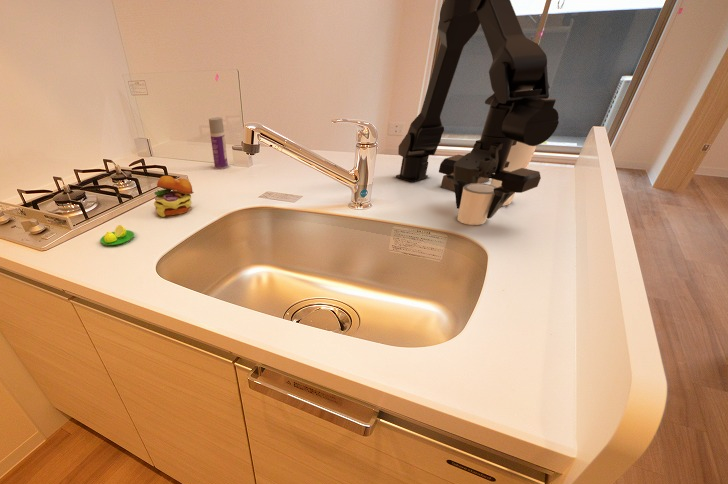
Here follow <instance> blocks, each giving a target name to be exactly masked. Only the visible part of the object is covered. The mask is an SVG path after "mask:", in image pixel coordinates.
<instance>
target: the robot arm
mask: <svg viewBox="0 0 728 484" xmlns="http://www.w3.org/2000/svg"><path fill="white" fill-rule="evenodd" d="M439 11H440V12H439V20H438V25H437V31H438V36H439V40H440V41H439V42H440V44H439V47H438V48H439V49H438V52H437V56H436V59H435V62H434V66H433V69H432V73H431V76H430V80H429V83H428V86H427V90H426V93H425V96H424V99H423V103H422V106H421V110H420V113H418V115H417V116H416V117H415V118H414V120H413V121H411V123H410V125H409V128H408V130H407V133H406V134H405V136H404V137H403V139H402V140H401V142H400V143H399V145H398V153H397V154H398V156H401V157H402V159H401V165H400V171H399V174H396V175H395V179H396V178H397V179H400V180H403V181H407V182H410V183H414V182H418V181H421V180H424V179H427V178H429V175H427V173H428V172H427V171H428V166H429V157H430V156H435V154H436V152H437V149H438V147H439V145H440V143H441V140H442V137H443V134H444V132H445V127H444V126H443V124H442V119H441V115H442V112H443V109H444V106H445V103H446V101H447V98H448V96H449V95H448V94H449V92H450V88H451V85H452V82H453V79H454V77H455V73H456V71H457V69H458V65H459V62H460V58H461V56H462V53H463V51H464V47H465V46H466V45H467V44H468V42H469V41H470V40H471V39H472V37H473V36H474V35H475V34H476V33H477V32H478V30H479V27H480V26H481V30H482V32H483V35H484V38H485V40H486V43H487V46H488V48H489V51H490V53H491V59H492V62H491V65H490V67H489V70H488V75H489V82H490V86H491V90H492V92H493V94H491V95H490V96H488V97H487V98H486V99H485V101H484V104H485V105H488V106H489V109H488V112H487V116H486V119H485V123H484V126H483V129H482V133H481V136H480V139H478V140H477V139H476V140H475V142H474V144H473V147H472V149H471V151H470V152H468V153H466V154H464V155H462V154H456V155H453V156H449V157H445V158H444V159H443V160H442V161H441V162H440V165H439V167H438V173H439V174H443V175H447V176H446V177H447V178H448V179H450V180H451V181H452V183H453V184H454V189H455V191H454V194H455V195H454V196H455V206H456V209H457V210H459V208H460V203H461V197H462V192H463V187H464V186H465V185H468V184H472V183H475V182H476V181H478V179H479V178H480V177H482V178H489V179H491V180H492V179H495V180H499V181H502V184H501V186H500V187H498V188H495V189H494V194H495V196H494V198H493V201H492V203H491V206H490V209H489V211H488V215H487V219H492V218H493V217H494V215H495V214H496V213H497V212H498V211H499V210H500V208H501V207H503V206H502V205H503V204H504V203H505V202H506V200H507V199H508V198H509V197H510V196H511V195H513V194H514V193H515V194H516V193H517V194H522V193H524V192H528V191H531V190H533V189H535V188H538V186H539V184H540V181H541V178H542V176H541V172H540V171H539V170H533V169H529V168H527V169H525V168H520V169H517V170H514V171H511V172H509V171H505V170H504V168H507V167H508V166H509V163H510V162H508V161H507V158H508V155H509V152H510V149H511V147H512V146H514V145H516V143H517V142H520V143H523V144H526V145H529V146H537V147H538V146H540V145H541V144H544V143H545V142H546V141H548V140H549V139H550V138H551V137H552V135H554V133H555V132H556V130H557V128H558V126H559V123H560V122H559V118H560V117H559V112H558V110H557V109H556V108H554V107H555V104H556V101H557V100H556V98H553V97H550V89H551V87H550V83H549V76H548V75H549V74H548V57H547V54H546V52H545V51H544V50H543V49H542V47H541V46H540V44H538V43H537V42H535V41H533V40H531V39H529V38H528V37H527V36H526V35H525V34H524V31H523V29H522V27H521V24H520V21H519V19H518V16H517V14H516V12H515V8H514V7H513V4H512V1H511V0H444V1H443V2H442V4H441V7H440V10H439ZM493 173H495V174H493ZM515 194H514V195H515Z"/></svg>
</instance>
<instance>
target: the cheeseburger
mask: <svg viewBox="0 0 728 484" xmlns="http://www.w3.org/2000/svg"><path fill="white" fill-rule="evenodd" d="M156 186H157V187H158V188H160V189H161V190H159V189H157V191H154V195H155V196H154V200H155V201H154V203H153V206H154V207H155V211H156V213H157V215H159V217H161V218H164V217H165V218H166V216H174V215H175V216H176V215H181V214H185V213H187V212H189V211H190V209H191V204H192V200H191V199H192V194H194V193H195V192H194V191H193V185H192V183H191V182H190V180H188V179H186V178H181V177H179V178H178V179H176V178H174V177H173V176H171V175H162V176H160V178H158V180H157V183H156Z"/></svg>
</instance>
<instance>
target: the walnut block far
mask: <svg viewBox="0 0 728 484" xmlns="http://www.w3.org/2000/svg"><path fill="white" fill-rule="evenodd" d="M489 181H490V178H482V177H480V178H479V179H478V181H476V182H475V183H486V182H489ZM472 184H473V183H472Z"/></svg>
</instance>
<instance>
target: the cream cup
mask: <svg viewBox="0 0 728 484" xmlns="http://www.w3.org/2000/svg"><path fill="white" fill-rule="evenodd" d="M490 184H491V183H490ZM490 184H489V183H485V182H483V183H473V184H468V185H465V186H464V187H463V192H462V197H461V203H460V208H459V209H458V213H457V221H458V222H459V223H462V224H465V225H470V226H479V225H483V224H485V223H486V221H487V219H488V218H487V215H488V211H489V209H490V206H491V203H492V201H493V198H494V196H495V194H494V189H495V188H498V187H496V186H494V185H490Z"/></svg>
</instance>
